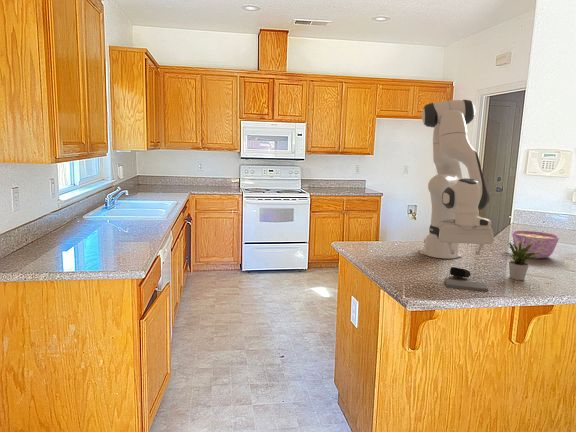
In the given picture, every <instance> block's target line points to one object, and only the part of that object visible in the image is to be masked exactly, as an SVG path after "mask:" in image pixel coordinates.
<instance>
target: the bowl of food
mask: <svg viewBox="0 0 576 432" xmlns="http://www.w3.org/2000/svg"><path fill="white" fill-rule="evenodd" d="M511 236H512V243H513V242H514V243H515V245H516V246H517V248H518V251H519V242H521V240H522V239H523V240H522V245H521V249H523V248H526V247H527V246H528V245H529V244H531V243H534V244H532V245H531V247H530V248H529V249H528V250H529V251H528V250H527V251H528V252H527V251H526V252H527V253H536V254H535V255H531V256H530V257H534V258H535V259H546V258H548V257H551V256H552V255H553V253H554V252H555V249H556V247H557V245H558V242H559V239H560V236H559V235H556V234H553V233H548V232H541V231H534V230H533V231H532V230H514V231H512V232H511ZM530 241H531V242H530ZM528 242H529V243H528ZM514 243H513V244H514ZM525 244H526V245H525ZM524 245H525V246H524ZM523 246H524V247H523ZM536 246H537V247H536ZM533 247H534V248H533ZM527 253H526V254H527ZM524 256H525V255H524ZM524 256H523V257H524Z"/></svg>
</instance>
